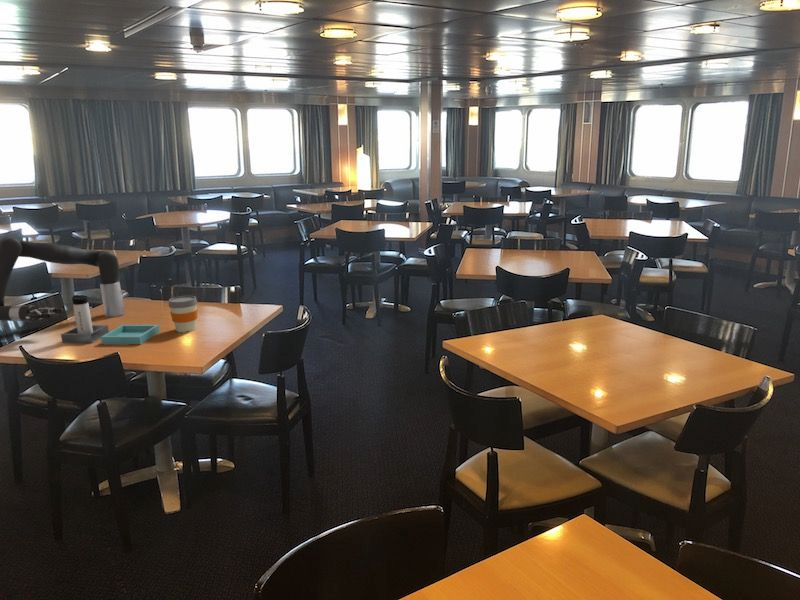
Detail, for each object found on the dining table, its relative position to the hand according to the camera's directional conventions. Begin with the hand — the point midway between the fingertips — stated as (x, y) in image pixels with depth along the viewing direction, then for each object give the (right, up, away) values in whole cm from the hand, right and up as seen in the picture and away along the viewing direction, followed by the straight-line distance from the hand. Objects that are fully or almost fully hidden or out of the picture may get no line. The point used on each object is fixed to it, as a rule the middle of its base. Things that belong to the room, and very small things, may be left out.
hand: (56, 313), depth 282 cm
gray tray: (+13, -11, +2) cm, 17 cm away
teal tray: (+34, -11, -1) cm, 36 cm away
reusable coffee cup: (+56, -8, +10) cm, 57 cm away
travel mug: (+13, -11, +2) cm, 17 cm away
